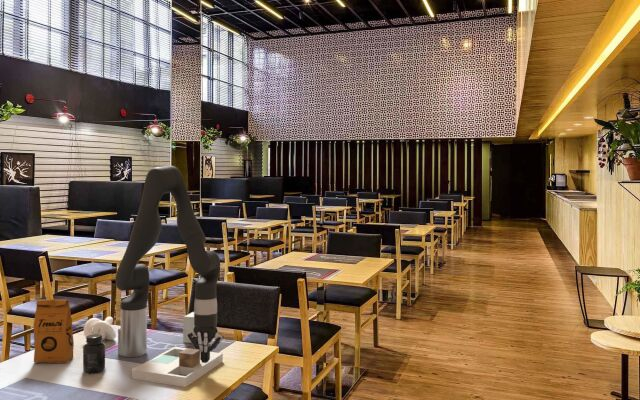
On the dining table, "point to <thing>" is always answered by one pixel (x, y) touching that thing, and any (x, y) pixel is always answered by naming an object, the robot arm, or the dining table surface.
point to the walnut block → (189, 358)
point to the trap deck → (174, 368)
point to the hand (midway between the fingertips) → (205, 362)
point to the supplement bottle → (94, 354)
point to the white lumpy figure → (100, 328)
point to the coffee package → (53, 332)
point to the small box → (188, 326)
